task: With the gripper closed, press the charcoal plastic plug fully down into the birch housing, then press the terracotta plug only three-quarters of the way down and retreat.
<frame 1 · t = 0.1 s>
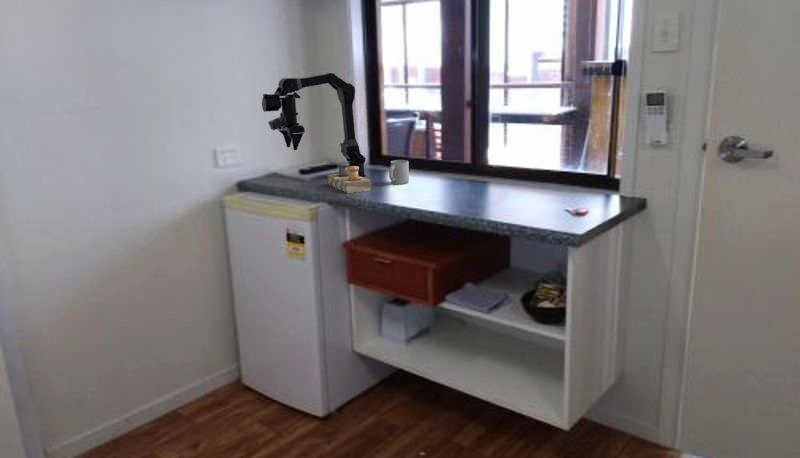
hand: (291, 148, 254), 15 cm above the worktop, fingers open, 9 cm apart
plug terracotta: (353, 174, 242), point 6 cm above the worktop, slide at 0.0 cm
housing: (349, 187, 248), on the worktop
cup: (398, 184, 253), on the worktop
plug charcoal: (343, 170, 251), point 6 cm above the worktop, slide at 0.0 cm
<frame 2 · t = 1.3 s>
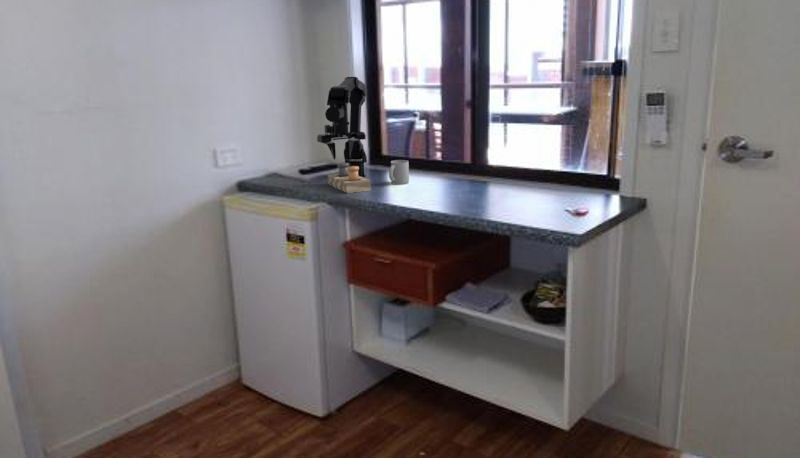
hand: (342, 158, 249), 11 cm above the worktop, fingers open, 7 cm apart
nothing on the worktop moved.
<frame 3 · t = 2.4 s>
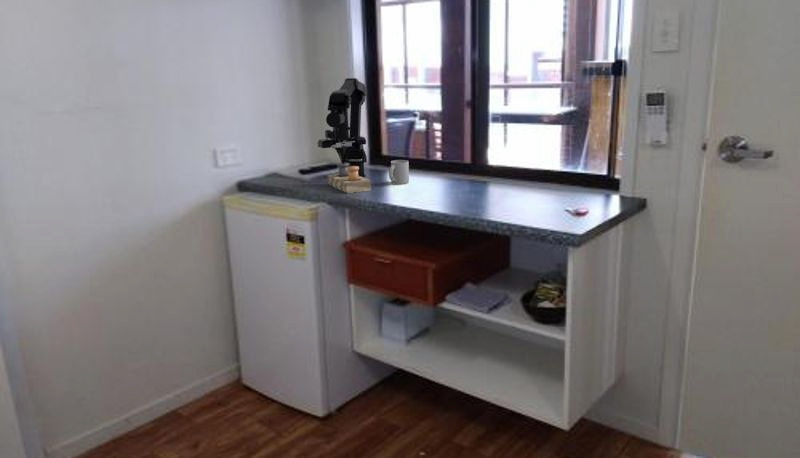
hand: (343, 163, 250), 9 cm above the worktop, fingers closed, pressing on plug charcoal
plug charcoal: (343, 170, 251), point 6 cm above the worktop, slide at 0.0 cm, touching gripper
everything else where it was.
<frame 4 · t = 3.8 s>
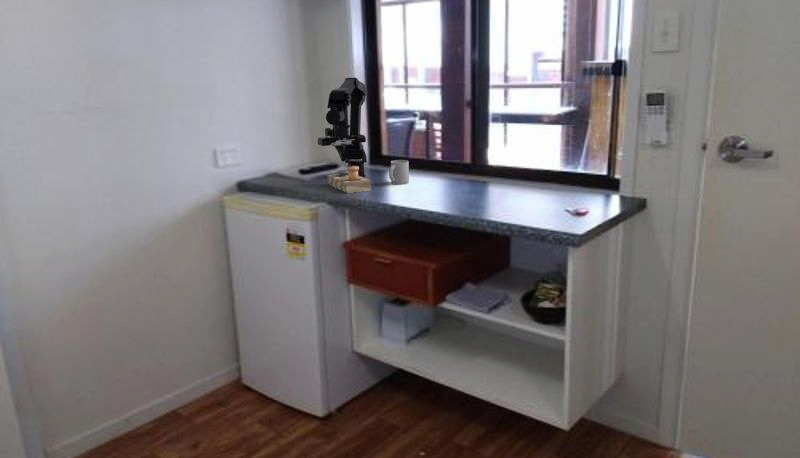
hand: (342, 161, 250), 10 cm above the worktop, fingers closed
plug charcoal: (343, 178, 252), point 3 cm above the worktop, slide at 3.1 cm
everything else where it was.
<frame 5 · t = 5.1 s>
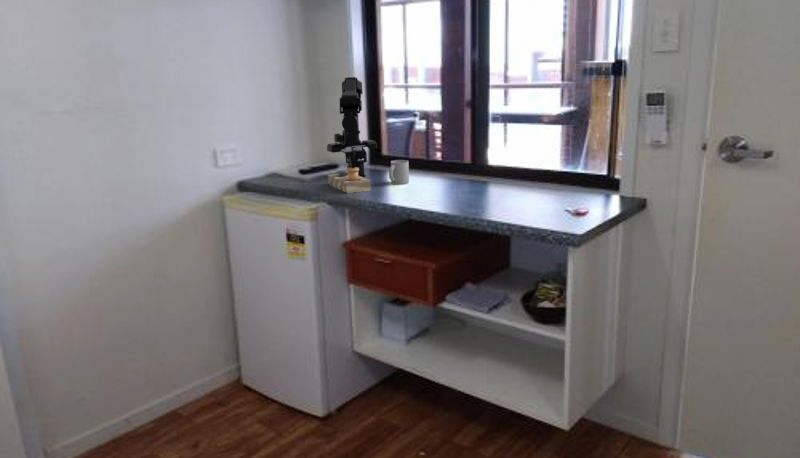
hand: (352, 168, 242), 9 cm above the worktop, fingers closed, pressing on plug terracotta
plug terracotta: (353, 175, 242), point 6 cm above the worktop, slide at 0.5 cm, touching gripper
everything else where it was.
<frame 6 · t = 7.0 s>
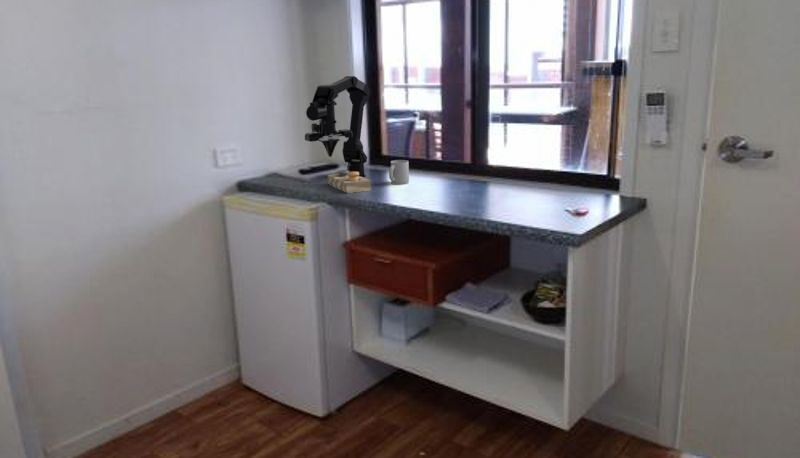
hand: (330, 156, 251), 12 cm above the worktop, fingers closed
plug terracotta: (353, 179, 243), point 4 cm above the worktop, slide at 2.2 cm
everything else where it was.
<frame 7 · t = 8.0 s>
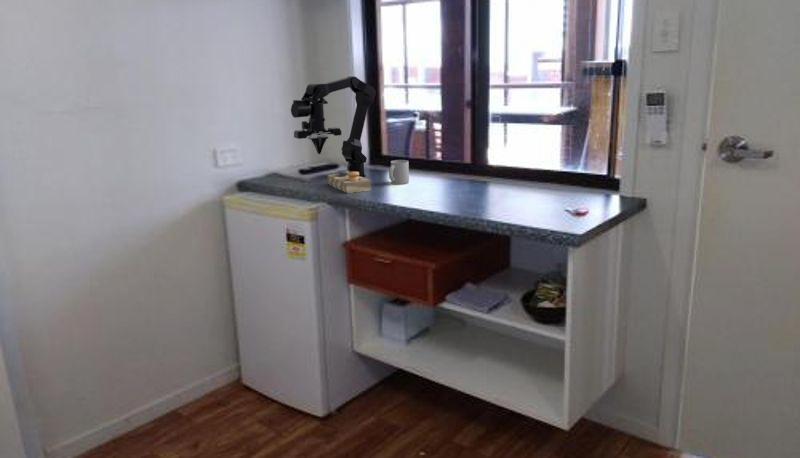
hand: (319, 154, 256), 12 cm above the worktop, fingers closed
nothing on the worktop moved.
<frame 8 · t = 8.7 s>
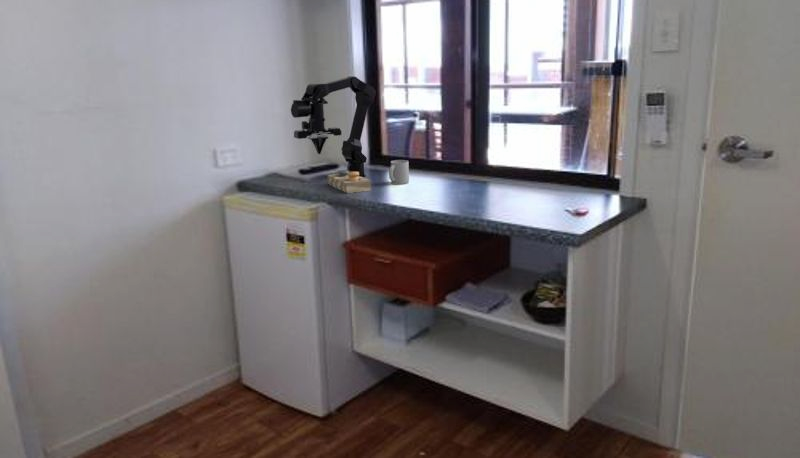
hand: (319, 154, 256), 12 cm above the worktop, fingers closed
nothing on the worktop moved.
at the end: plug charcoal slide at 3.1 cm; plug terracotta slide at 2.2 cm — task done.
